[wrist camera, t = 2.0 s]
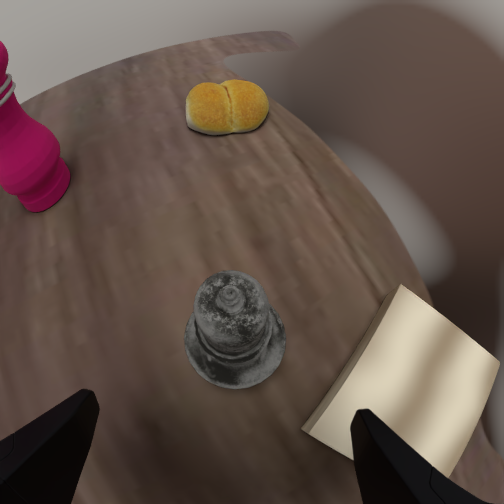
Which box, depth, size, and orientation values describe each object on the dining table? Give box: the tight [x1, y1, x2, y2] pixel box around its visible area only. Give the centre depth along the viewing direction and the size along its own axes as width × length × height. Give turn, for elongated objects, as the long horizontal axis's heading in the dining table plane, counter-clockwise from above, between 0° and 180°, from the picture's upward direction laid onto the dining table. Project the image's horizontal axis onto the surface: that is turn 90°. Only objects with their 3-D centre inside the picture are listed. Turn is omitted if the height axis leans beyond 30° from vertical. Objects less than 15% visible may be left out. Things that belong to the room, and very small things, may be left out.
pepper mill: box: [0, 41, 70, 212], centre depth 17 cm, size 7×7×20 cm
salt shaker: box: [184, 270, 286, 389], centre depth 15 cm, size 6×6×12 cm
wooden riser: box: [301, 284, 500, 478], centre depth 17 cm, size 12×12×2 cm
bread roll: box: [186, 80, 269, 135], centre depth 29 cm, size 8×9×4 cm
